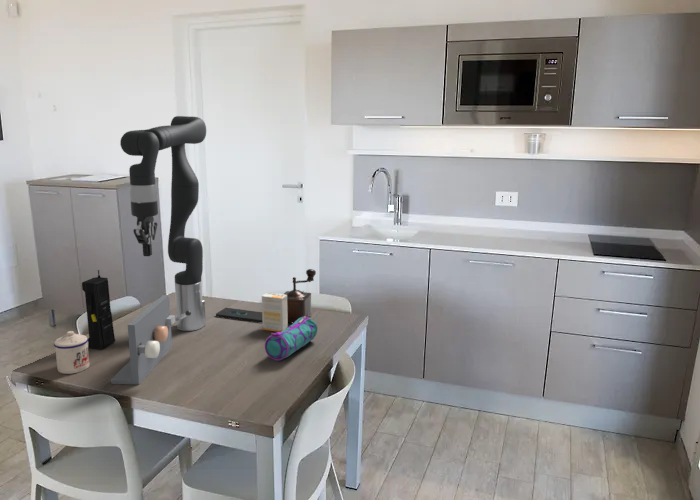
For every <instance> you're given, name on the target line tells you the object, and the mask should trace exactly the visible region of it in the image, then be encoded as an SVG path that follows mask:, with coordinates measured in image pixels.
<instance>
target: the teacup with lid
mask: <svg viewBox="0 0 700 500" xmlns="http://www.w3.org/2000/svg"><path fill="white" fill-rule="evenodd" d="M88 338H89V337H88V336H86V335H84V334H81V333H80V334H79V333H75V331H73V330H69V331H66V333H65V335H63V336H61V337H59V338H56V339H55V341H54V343H53V346H54V348H55V358H56V367H57V371H58V373H60V374H63V375H65V374H67V375H72V374H77V373H80V372H83V371H85V370H87V369H89V367H90V354H89V347H88Z"/></svg>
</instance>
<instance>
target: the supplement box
mask: <svg viewBox="0 0 700 500" xmlns="http://www.w3.org/2000/svg"><path fill="white" fill-rule="evenodd" d="M261 312H262V320H263V323H262V331H268V332H269V331H271V332H275V333H277V332H282V331H283V330H285V329H286V328H287V327H289V323H288V313H287V295H284V293H283V294H282V293H275V292H266V293H264V294H262V295H261Z"/></svg>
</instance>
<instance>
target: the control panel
mask: <svg viewBox="0 0 700 500" xmlns="http://www.w3.org/2000/svg"><path fill="white" fill-rule="evenodd" d="M170 302H171V301H170V295H169V294H162V295H161V296H160V297H159V298H158V299H157V300H155V301H154V302H153V303H152V304H151V305H149V306H148V307H147V308H146V309H144V310H143V311H142V312H141V313H140V314H138V316H136V317H135V318H134V319H133V320H132V321H130V322H129V323H128V324H127V334H128V346H129V347H128V348H129V349H128V351H129V361H128V363H126V364H125V365H124V366H123V367H122V368H121V369H120V370H119V371H118V372H117V373H116V374H115V375H114V376H113V377H112V378H111V379H110V381H111V383H110V384H113V385H140V384H141V383H142V382H143V381H144V380H145V379H146V377H147V376H148V375H149V374H150V372H152V370H153V369H154V368H155V367H156V366H157V364H159V362H160V361H161V360H162V359H163V358H164V357H165V355H166V354H167V353H168V352H169V351H170V350H171V348H173V339H172V327H173V325H174V324H175V323H176V321H175V318H176V314H175V315H174V314H171V305H170ZM157 326H167V328H168V337H167V340H166V342H159V344H160V351H159V355H158V357H157V358H147V357H146V356H145V353H138V350H137V346H138V345H146V343H147V342H148V341H155V338H153V331H154V330H155V329H156V327H157Z"/></svg>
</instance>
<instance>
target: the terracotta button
mask: <svg viewBox="0 0 700 500" xmlns="http://www.w3.org/2000/svg"><path fill="white" fill-rule="evenodd" d="M167 337H168V328H167V326H157V327H156V329H155V330H154V331H153V338H155V341H158V342H166V340H167Z"/></svg>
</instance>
